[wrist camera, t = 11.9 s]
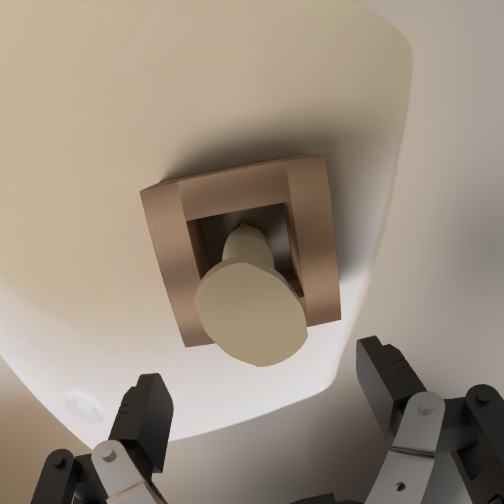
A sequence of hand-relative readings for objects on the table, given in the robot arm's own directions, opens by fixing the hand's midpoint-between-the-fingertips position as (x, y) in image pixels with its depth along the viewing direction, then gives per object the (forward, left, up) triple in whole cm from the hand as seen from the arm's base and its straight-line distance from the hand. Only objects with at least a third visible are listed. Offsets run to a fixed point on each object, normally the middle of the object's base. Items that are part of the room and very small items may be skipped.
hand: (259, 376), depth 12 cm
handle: (0, 0, -20) cm, 20 cm away
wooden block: (0, 0, -19) cm, 19 cm away
